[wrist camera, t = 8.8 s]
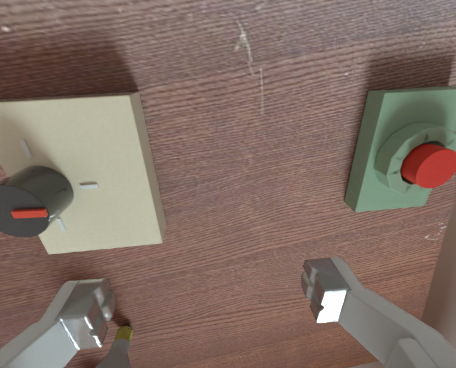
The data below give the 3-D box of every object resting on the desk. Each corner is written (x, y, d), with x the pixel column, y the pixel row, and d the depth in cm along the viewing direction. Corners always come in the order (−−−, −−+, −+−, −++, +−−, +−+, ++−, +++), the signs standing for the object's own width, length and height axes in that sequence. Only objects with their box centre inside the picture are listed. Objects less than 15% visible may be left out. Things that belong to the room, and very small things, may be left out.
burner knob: (27, 212, 20) (-9, 242, 17) (5, 166, 18) (-41, 188, 15) (80, 210, 20) (55, 238, 17) (64, 164, 18) (33, 185, 15)
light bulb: (131, 309, 31) (102, 405, 22) (153, 329, 34) (135, 423, 25) (97, 323, 32) (56, 422, 23) (122, 342, 34) (93, 438, 25)
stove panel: (-23, 100, 18) (-63, 105, 16) (139, 91, 19) (128, 95, 16) (47, 236, 25) (27, 257, 22) (166, 225, 26) (162, 244, 23)
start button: (407, 144, 20) (425, 150, 18) (446, 141, 20) (466, 147, 18) (395, 181, 21) (410, 190, 20) (431, 178, 22) (449, 186, 20)
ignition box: (368, 90, 21) (401, 94, 17) (448, 86, 22) (497, 89, 18) (343, 201, 26) (365, 222, 23) (408, 195, 27) (439, 215, 23)
